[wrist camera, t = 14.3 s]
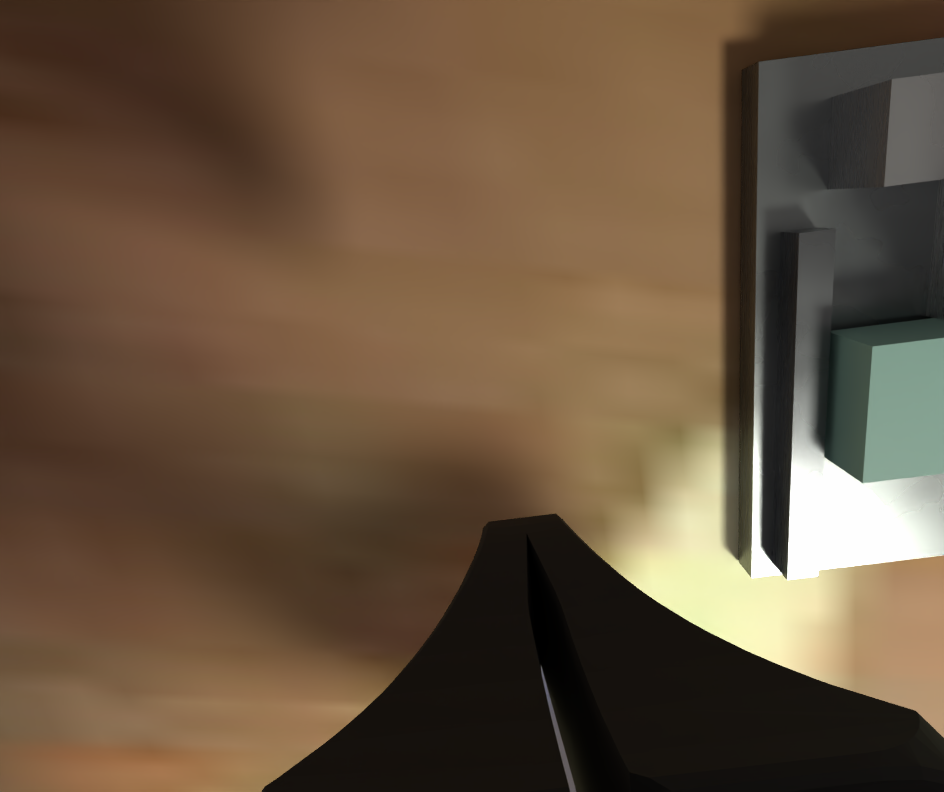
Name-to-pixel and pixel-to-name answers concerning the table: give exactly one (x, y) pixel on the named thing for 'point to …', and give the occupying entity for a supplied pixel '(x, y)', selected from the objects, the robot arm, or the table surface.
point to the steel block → (937, 262)
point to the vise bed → (831, 292)
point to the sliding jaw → (887, 400)
